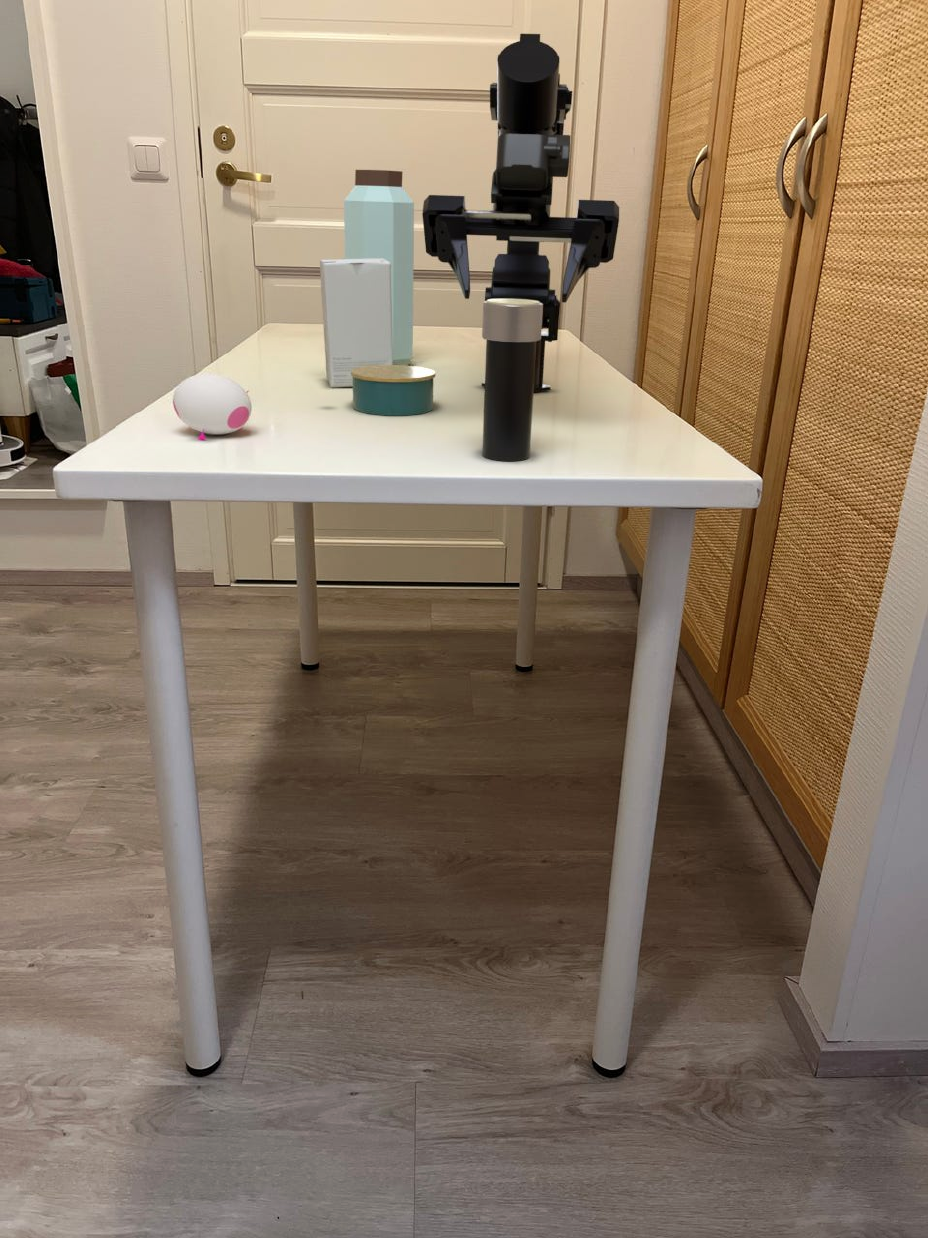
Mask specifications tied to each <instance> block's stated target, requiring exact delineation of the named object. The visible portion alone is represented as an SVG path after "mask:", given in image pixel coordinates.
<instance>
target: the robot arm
mask: <svg viewBox="0 0 928 1238" xmlns="http://www.w3.org/2000/svg"><path fill="white" fill-rule="evenodd" d="M496 64H497V65H496V69H497V70H496V72H497V73H496V74H497V75H496V81H497V82H492V83H491V84H490V85H489V111H490V117H491V122H497V141H496V159H495V160H496V161H495V170H494V171H493V173H492V176H491V189H490V203H491V204H492V209H491V210H485V209H484V210H482V209H466V206H467V205H466V195H447V194H446V195H445V194H443V195H442V194H428V196H427V197H426V198H425V199H424V200H423V204H422V213H421V214H422V215H421V216H422V224H423V234H424V243H425V245H424V247H425V253H427V255H429V256H430V257H432V258H437V259H438V261H440V262H441V263H445V264H446V263H447V264H448V265H449V267H450V269H451V270H452V272H453V273H454V275H455V276H456V278H457V281H458V284H459V287H460V288H461V292H462V293H463V298H464V299H465V300H469V299H470V295H471V273H470V261H469V259H470V258H469V248H468V247H469V245H468V236H488V237H489V236H490V237H492V236H493V237H495V241H498V242H499V241H501V242H507V243H506V253H498V254H497V255H496V257H495V258H494V266H493V267H492V275H491V285H490V286H485V291H484V302H485V301H487V300H488V299H501V298H507V299H527V300H535V301H539V302H540V303H542V304H543V314H542V330H544V329H547V331H542V330H541V340H539V341H536V355H535V373H534V390H533V393H535V392H544V391H545V392H546V391H551V390H552V389H551V388H552V387H551V385H547V384H544V370H545V369H544V367H545V353H546V352H545V351H546V342H548V343H553V341H558V339H559V338H558V337H559V325H560V324H559V323H560V312H561V303H567V301H568V300H569V298H570V296H571V294H572V292H573V291H574V289H575V287H576V285H577V284H578V282H579V281H580V280H581V279H582V277H583V276H584V275H585V274H586V273H587V271H588V270H589V269H595V268H598V267H599V266H600V265H601V264H602V263H603V264H606V263H609V262H611V261H612V260H614V256H615V255H614V254H615V249H616V242H617V237H618V236H617V235H618V231H619V223H620V206H619V205H618V204H617V202H616V201H615V200H602V199H601V200H600V199H578V200H577V209H576V217H566V216H565V217H564V216H562V217H561V216H551V207H552V203H553V202H552V201H553V183H554V178H568V176H569V170H570V169H569V168H570V155H571V135H570V134H564V127H565V121H566V120H567V115H568V113H570V111H571V109H572V103H573V102H572V101H573V90H570V89H569V87H568V85H567V84H566V83H565V84H564V83H563V84H561V83H560V81H561V80H560V79H561V73H560V56H559V54H558V53H557V51H556V50H555V49H554V47H552V46H550V45H549V44H547V43H545V42H543V41H541V34H540V33H519V40H517V41H515V42H513V43H510V44H509V45H507V46H505V47H504V48H503V49H502V50H501V52H500V53H499V54H498V55H497V60H496ZM540 243H565V244H566V243H569V244H570V245H569V251H568V256H567V259H566V265H565V270H564V275H563V280H562V291H561V301H560V300H559V299H558V297H557V294H556V289H555V288H551V287H550V286H551V268H550V261H549V258H548V257H547V255H546V254H540ZM481 387H483V388H485V381H482V382H481Z"/></svg>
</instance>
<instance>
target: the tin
mask: <svg viewBox="0 0 928 1238" xmlns="http://www.w3.org/2000/svg"><path fill="white" fill-rule="evenodd" d="M351 376H353V387H352V408H353V409H354V410H355V411H357V412H360V413H364V414H369V415H376V416H389V417H390V416H393V417H394V416H395V417H396V416H398V417H399V416H400V417H402V416H416V415H421V414H426V413H429V412H431V411H432V410H433V409H434V378H435V377H436V371H435V370H433V369H431V368H428V367H422V366H417V365H415V366H414V365H408V366H406V365H371V366H362V367H357V368H354V369H352V370H351Z"/></svg>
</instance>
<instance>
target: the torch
mask: <svg viewBox="0 0 928 1238" xmlns="http://www.w3.org/2000/svg"><path fill="white" fill-rule="evenodd" d="M542 314H543V304H542V303H540V302H539V301H535V300H527V299H507V298H501V299H488V300H487V301H485V300H484V301H483V303H482V325H481V326H482V327H481V329H482V330H481V337H482V339H483V340H485V341H486V344H485V346H486V347H485V368H484V371H485V372H484V382H485V387H484V395H483V396H484V397H483V419H482V420H483V422H482V423H483V424H482V450H481V451H482V452H481V454H482V456H483V457H484V458H486V459H488V460H492V461H499V462H519V461H524V460H527V459H529V458H530V457H531V456H530V455H531V441H532V440H531V439H532V438H531V437H532V423H533V405H534V392H533V390H534V373H535V355H536V341H539V340H541V331H542V330H543V329H542Z"/></svg>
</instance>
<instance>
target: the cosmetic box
mask: <svg viewBox="0 0 928 1238" xmlns="http://www.w3.org/2000/svg"><path fill="white" fill-rule="evenodd" d="M319 273H320V275H319V276H320V293H321V305H322V307H321V308H322V323H323V340H324V342H323V343H324V355H325V357H324V358H325V375H326V376H325V377H326V380H327V382H328V385H329V387H330V388H353V376H351V370H352V369H354V368H357V367H362V366H371V365H393V346H392V305H391V263H390V262H388V261H386V260H385V259H383V258H368V259H345V258H340V259H339V258H338V259H337V258H336V259H319Z"/></svg>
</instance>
